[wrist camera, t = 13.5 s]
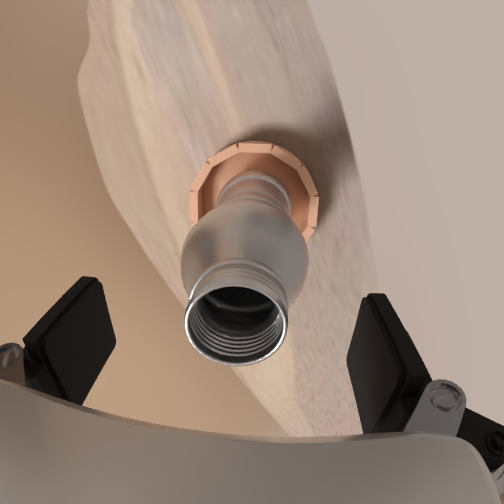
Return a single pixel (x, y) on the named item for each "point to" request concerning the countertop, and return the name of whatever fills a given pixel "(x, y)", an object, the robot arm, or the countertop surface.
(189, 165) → the countertop surface
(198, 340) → the plastic bottle
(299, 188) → the round tray
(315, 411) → the countertop surface
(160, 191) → the countertop surface
